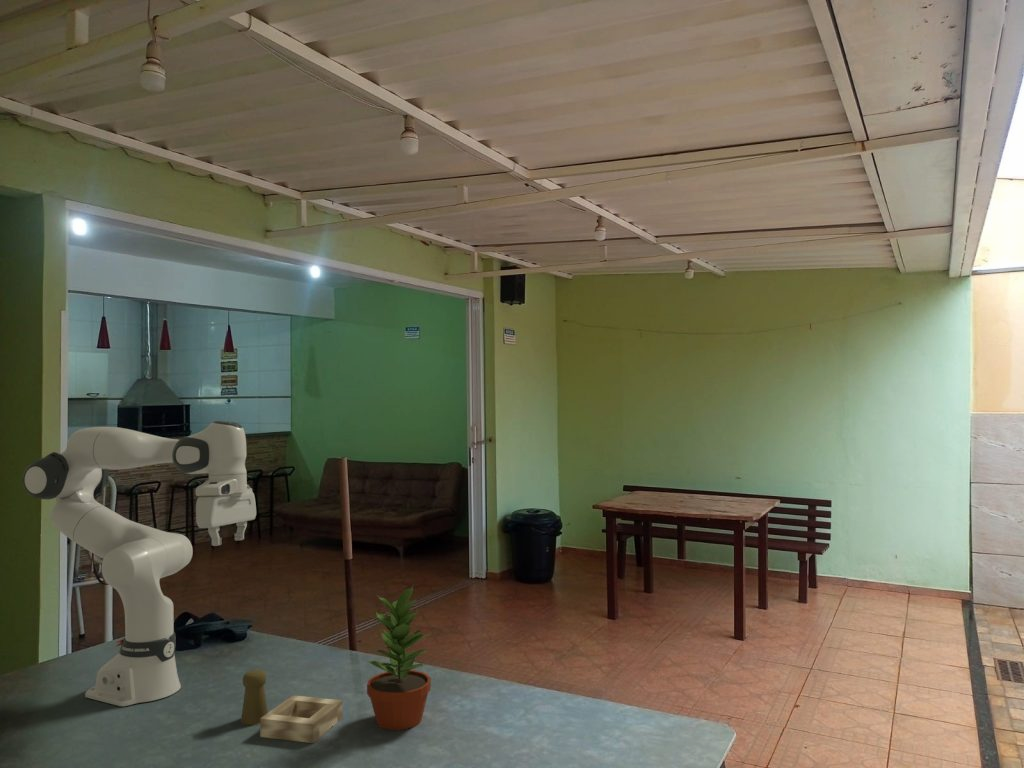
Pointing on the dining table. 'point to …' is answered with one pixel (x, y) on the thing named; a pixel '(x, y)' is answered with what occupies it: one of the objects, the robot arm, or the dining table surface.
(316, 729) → the socket block
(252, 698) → the cork
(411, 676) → the potted plant
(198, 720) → the dining table surface
